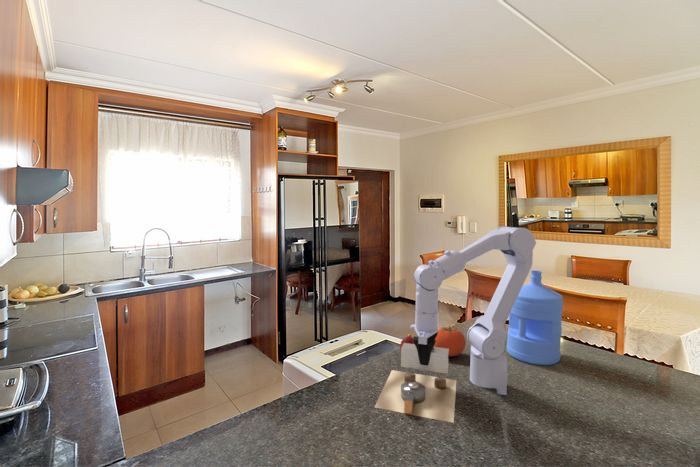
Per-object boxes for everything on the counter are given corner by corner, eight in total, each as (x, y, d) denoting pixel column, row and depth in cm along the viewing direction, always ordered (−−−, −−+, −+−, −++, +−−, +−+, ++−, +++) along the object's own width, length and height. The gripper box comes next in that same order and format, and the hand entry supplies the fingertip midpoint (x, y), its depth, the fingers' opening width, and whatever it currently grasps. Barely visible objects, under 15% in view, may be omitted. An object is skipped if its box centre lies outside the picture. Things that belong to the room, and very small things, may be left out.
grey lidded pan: (403, 388, 91) (403, 376, 90) (426, 392, 89) (426, 380, 88) (395, 411, 81) (395, 397, 80) (421, 416, 79) (421, 402, 78)
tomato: (443, 346, 122) (443, 318, 121) (470, 355, 114) (471, 325, 114) (426, 355, 115) (427, 325, 114) (455, 365, 107) (456, 333, 106)
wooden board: (456, 384, 96) (456, 373, 95) (453, 428, 77) (453, 414, 76) (391, 374, 101) (392, 364, 101) (374, 412, 82) (374, 399, 82)
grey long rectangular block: (448, 366, 93) (448, 348, 93) (447, 373, 89) (447, 354, 89) (403, 360, 97) (403, 342, 96) (400, 366, 93) (401, 348, 93)
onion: (417, 363, 108) (418, 338, 108) (399, 361, 109) (399, 336, 109) (418, 355, 114) (418, 331, 113) (400, 354, 115) (400, 330, 115)
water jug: (523, 342, 125) (527, 265, 123) (569, 359, 112) (574, 273, 110) (496, 352, 117) (499, 269, 115) (542, 370, 104) (547, 278, 102)
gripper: (415, 302, 100) (414, 348, 101) (406, 317, 86) (405, 370, 87) (440, 304, 98) (439, 351, 99) (435, 320, 84) (434, 374, 85)
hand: (425, 360), depth 93 cm, fingers closed on grey long rectangular block, 4 cm apart
